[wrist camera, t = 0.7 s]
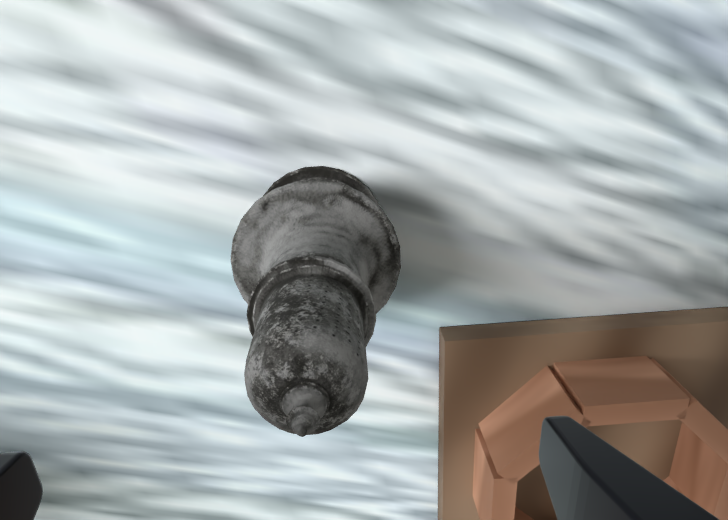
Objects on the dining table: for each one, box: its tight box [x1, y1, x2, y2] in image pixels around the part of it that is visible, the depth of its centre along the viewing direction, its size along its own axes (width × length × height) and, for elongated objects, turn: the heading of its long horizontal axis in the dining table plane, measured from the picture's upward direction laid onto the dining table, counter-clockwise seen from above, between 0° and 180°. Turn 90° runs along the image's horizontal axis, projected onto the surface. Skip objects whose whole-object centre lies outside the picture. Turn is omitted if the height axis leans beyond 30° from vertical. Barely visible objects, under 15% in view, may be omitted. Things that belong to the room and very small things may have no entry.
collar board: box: [438, 307, 728, 520], centre depth 24 cm, size 14×14×4 cm
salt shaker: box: [231, 166, 401, 437], centre depth 15 cm, size 6×6×12 cm
